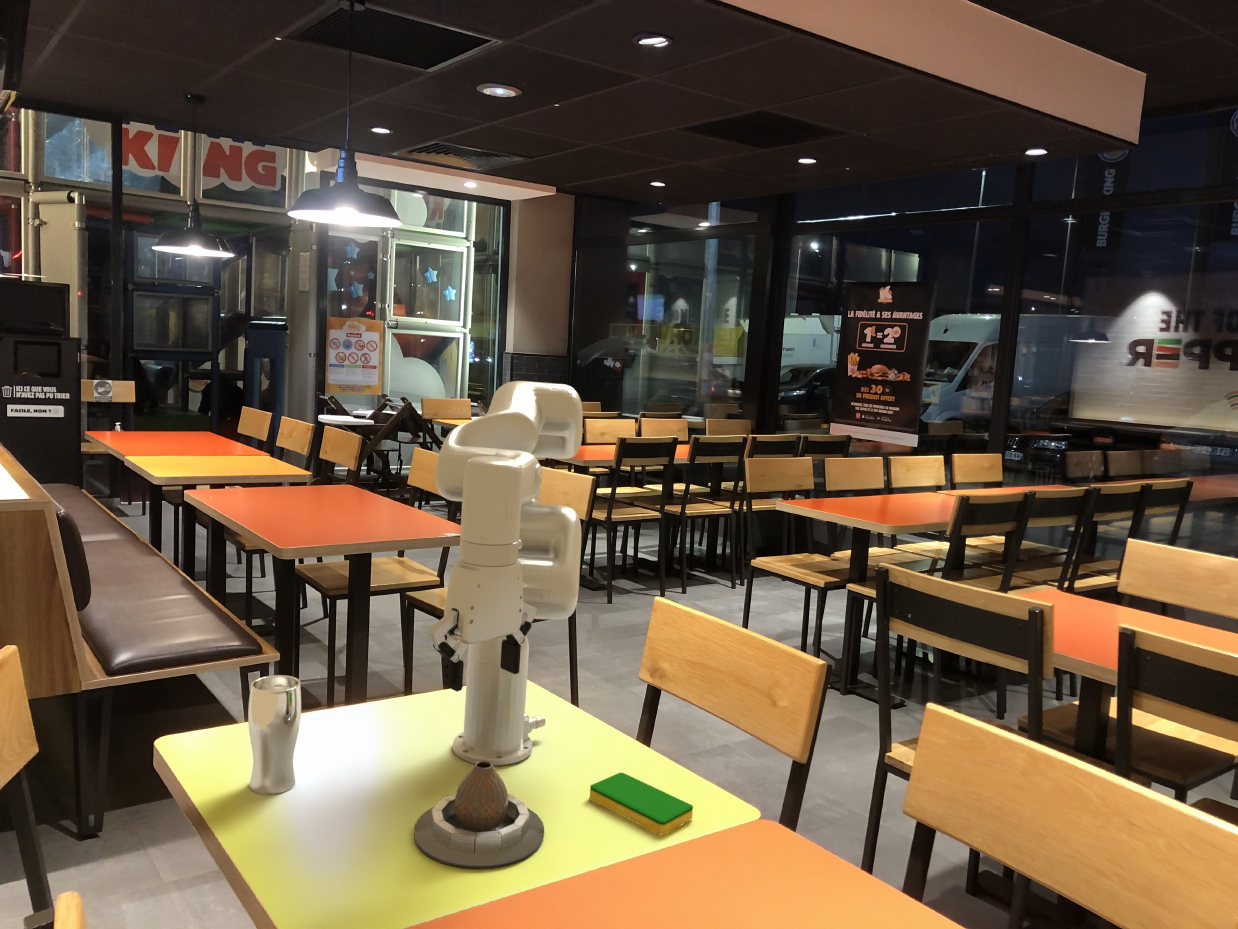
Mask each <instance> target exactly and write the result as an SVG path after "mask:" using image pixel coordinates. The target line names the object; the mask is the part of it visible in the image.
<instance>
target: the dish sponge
mask: <svg viewBox="0 0 1238 929" xmlns="http://www.w3.org/2000/svg"><path fill="white" fill-rule="evenodd" d="M590 799H591V800H590ZM589 800H590V801H593V802H594V801H595V803H596V802H597V803H596V804H598V805H600V804H601V805H600V806H602V805H603V806H602V807H604V806H605V807H604V808H606V807H607V808H606V809H608V808H609V809H608V810H610V809H611V810H610V811H612V810H613V811H612V812H614V811H615V812H614V813H616V814H618V813H619V814H618V815H620V814H621V815H620V816H622V815H623V816H622V817H624V816H625V817H626V819H627V818H629V819H631V820H633V821H635V822H637V823H639V824H640V825H639V824H638V825H639V826H641V825H642V826H641V827H643V826H644V827H643V828H645V827H646V828H645V829H647V828H648V829H647V830H649V829H650V830H649V831H651V830H652V832H653V831H654V832H653V833H655V832H656V833H655V834H657V835H659V834H662V835H661V836H664V835H666V834H668V833H670V832H672V831H674V830H676V829H677V828H676V827H678V826H679V827H681V826H682V825H681V824H683V823H685V822H687V821H689V820H690V819H692V820H693V812H694V811H693V809H694V806H693V805H692V804H690V803H688V802H686V801H684V800H682V799H680V798H678V797H676V796H673V795H671V794H669V793H667V792H665V791H663V790H660V789H659V788H656V787H654V786H652V785H650V784H648V783H646V782H643V781H641V780H639V779H637V778H635V777H633V776H631V775H628V774H626V773H625V772H618V773H616V774H613V775H611V776H609V777H606V778H604V779H602V780H599V781H598V782H595V783H593V784H590V790H589ZM625 817H624V818H625ZM629 819H628V820H629ZM631 820H630V821H631ZM633 821H632V822H633ZM635 822H634V823H635ZM689 822H690V821H689ZM637 823H636V824H637ZM687 823H688V822H687ZM685 824H686V823H685ZM680 825H681V826H680ZM683 825H684V824H683ZM679 827H678V828H679ZM675 828H676V829H675ZM673 829H674V830H673ZM671 830H672V831H671ZM669 831H670V832H669ZM667 832H668V833H667Z"/></svg>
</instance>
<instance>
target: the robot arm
mask: <svg viewBox="0 0 1238 929" xmlns="http://www.w3.org/2000/svg"><path fill="white" fill-rule="evenodd" d="M583 415H584V413H583V405H582V400H581V397H580V395H579V393H578V392H577V390H575V388H574V387H572V386H571V385H568V384H564V383H552V382H539V381H527V380H515V381H509V382H505V383H504V384H502V385H501V386H499V387H498V389H496V391H495V392H494V394H493V396H492V398H491V402H490V405H489V407H488V411H487V412H486V414H485V415H481V416H479V417H477V418H475V419H472V420H470V421H466V422H465V423H462V424H460V425H458V426H456V427H455V428H453V429H452V430H450V431H449V433H448V434H447V435H446V437H445V439H444V441H443V444H442V446H441V448H440V451H439V453H438V456H437V459H436V463H435V467H434V483H435V488H436V489H437V491H438V493H439V495H440V496H441V497H443V498H445V499H446V500H449V501H454V502H461V517H460V518H461V520H460V535H459V536H460V537H459V538H460V539H459V540H460V542H459V556H458V557H459V558H458V560H459V561H458V562H455V563H453V565H452V568H451V573H450V575H449V576H450V577H449V579H448V585H447V589H446V590H447V591H446V594H445V596H446V597H445V603H444V604H445V605H444V612H443V617H442V618H440V620H438V621H437V622H435V624H433V625H432V626H431V627H429V629H428V636H429V639H430V640H431V642H432V646H433V648H434V649H435V650H436V651H437V652H438V654H439V655H440V656H441V657H442V658H443V666H442V684H443V686H445V687H447V688H448V689H451V690H453V691H455V692H460V691H462V689H463V680H464V666H465V664H464V661H463V660H462V659H461V658H462V656H463V655H464V653H465V652H466V650H467V648H468V651H467V652H468V653H467V667H466V668H467V669H466V683H465V684H466V685H465V686H466V687H465V699H464V700H465V703H464V720H463V722H464V723H463V724H464V725H463V731H462V732H461V733H458V734H457V735H456V736H455V737H454V739H453V742H452V750H453V752H454V754H455V755H456V756H458V757H459V758H460V759H462V760H463V761H466V762H469V763H472V764H475V763H476V762H478V761H489V762H491V763H492V764H493V766H505V765H510V764H515V763H519V762H520V761H524V760H525V759H526V758H528V757H529V756H530V755H531V753H532V751H533V740H532V739H531V737H529V734H531V733H532V731H533V730H536V729H539V728H542V727H545V725H546V718H545V717H544V715H542V714H539V715H536V716H533V717H529V714H527V713H526V702H527V701H526V700H527V683H528V670H529V656H530V655H529V654H530V653H529V652H530V646H529V640H528V637H527V634H528V633H529V632H530V630H531V628H532V623H533V622H534V621H533V620H534V619H536V620H552V621H553V620H556V621H557V620H564V619H567V618H570V617H571V616H572V615H573V614H574V612H575V610H576V607H577V604H578V599H579V598H578V597H579V587H580V571H581V570H580V569H581V568H580V567H581V551H582V550H581V549H582V525H581V520H580V517H579V514H578V513H577V511H575V509H573V508H571V507H569V506H566V505H559V504H549V503H547V504H546V503H540V499H541V489H542V488H541V487H542V484H543V483H542V481H543V469H542V465H541V464H540V462H539V460H538V459H537V458H545V459H556V460H557V459H558V460H559V459H562V460H563V459H564V460H565V459H571V458H574V457H575V456H576V455H577V454H578V453H579V450H580V448H581V445H582V442H583V420H584V418H583V417H584V416H583ZM445 636H447V638H446V637H445ZM457 642H458V643H457ZM456 644H457V645H456ZM455 645H456V646H455ZM454 647H455V648H454Z"/></svg>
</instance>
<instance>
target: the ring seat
mask: <svg viewBox="0 0 1238 929" xmlns="http://www.w3.org/2000/svg"><path fill="white" fill-rule="evenodd" d="M507 794H508V806H507V811H506V815H505V817H504V819H503V821H502V823H501V824H500V825H499V827H498V828H496V829H495V830H494V831H487V832H472V831H466V830H465V829H464V828H463V827H462V826H461V825H460V824H459V822H458V820H457V817H456V813H455V797H456V793H454V794H451V795H447V796H445V797H442V798H441V799H440V800H439V801H438V802H437V803H436V804H435V805H434V806H433V807H431V808H429V809H427V810H426V811H425V812H423V814H421V815H420V817H418V819H417V820H416V822H415V825H414V828H413V841H414V845H415V846H416V847H417V849H418V850H419V852H421V854H423V855H424V856H425V857H427V858H428V859H430V860H432V861H434V862H437V863H439V864H442V865H445V866H448V867H452V868H458V869H465V870H489V869H490V870H492V869H498V868H504V867H509V866H511V865H515V864H518V863H520V862H522V861H524V860H526V859H528V858H530V857H531V856H533V855H534V854H535V853H536V852H537V851H538V850H539V849H540V847H541V846H542V844H543V842H544V838H545V826H544V823H543V821H542V819H541V817H539V815H538V814H537V813H536V812H534V811H533V810H531V809H530V808H529V807H527V805H526V803H525V802H524V801H522V800H521V799H519V798H517V797H515V796H513V795H511V794H510V793H508V792H507Z"/></svg>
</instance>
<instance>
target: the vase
mask: <svg viewBox="0 0 1238 929" xmlns="http://www.w3.org/2000/svg"><path fill="white" fill-rule="evenodd" d="M473 764H474V765H473V766H472V768H471V770H470V771H469V772H468V773H467V774H466V775H465V777H463V779H462V780H461V781H460V783H459V785H458V787H457V790H456V792H455V794H456V797H455V813H456V817H457V820H458V822H459V824H460V825H461V826H462V827H463V828H464V829H465V830H466V831H472V832H487V831H494V830H495V829H496V828H498V827H499V825H500V824H501V823H502V821H503V819H504V817H505V815H506V811H507V806H508V794H509V793H508V791H507V786H506V785H505V781H504V780H503V779H502V777H501V776H500V775H499V773H498V771H496V769H495V765H493V764H492V763H491V762H489V761H478V762H476V763H473ZM507 793H508V794H507Z"/></svg>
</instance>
